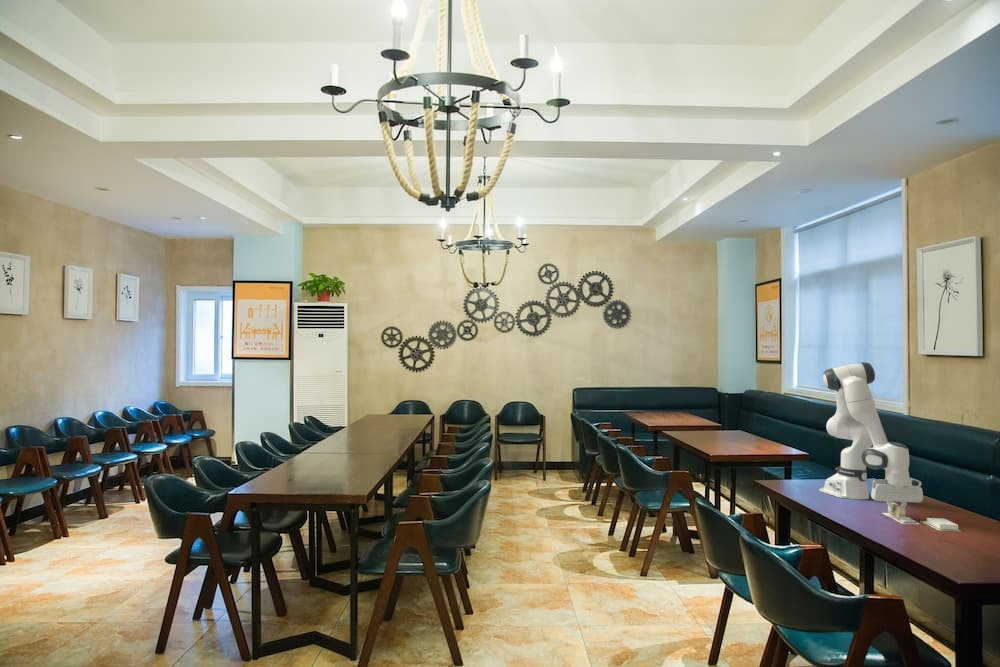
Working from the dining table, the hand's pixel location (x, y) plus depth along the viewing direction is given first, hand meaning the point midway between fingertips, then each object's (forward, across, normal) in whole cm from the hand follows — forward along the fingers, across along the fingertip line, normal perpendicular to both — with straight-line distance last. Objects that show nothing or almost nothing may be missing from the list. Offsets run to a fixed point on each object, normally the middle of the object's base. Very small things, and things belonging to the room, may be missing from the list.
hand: (896, 511), depth 273 cm
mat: (+3, +11, -12) cm, 17 cm away
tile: (+1, +11, -8) cm, 14 cm away
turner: (+2, 0, -3) cm, 3 cm away
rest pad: (+3, 0, -3) cm, 4 cm away
